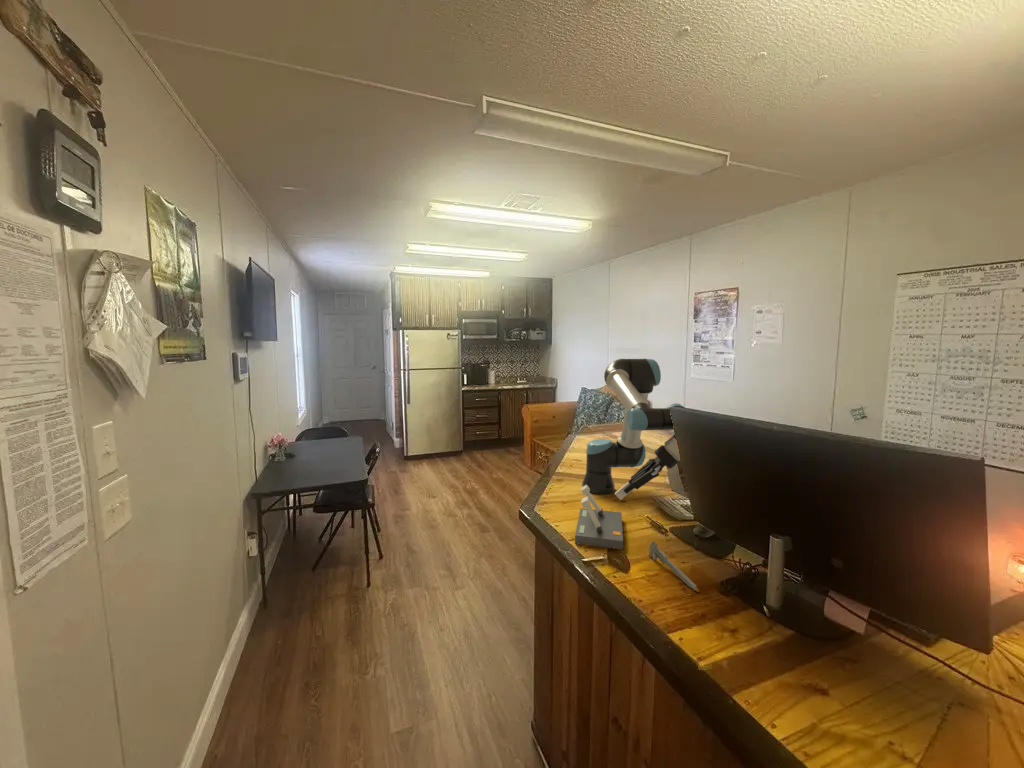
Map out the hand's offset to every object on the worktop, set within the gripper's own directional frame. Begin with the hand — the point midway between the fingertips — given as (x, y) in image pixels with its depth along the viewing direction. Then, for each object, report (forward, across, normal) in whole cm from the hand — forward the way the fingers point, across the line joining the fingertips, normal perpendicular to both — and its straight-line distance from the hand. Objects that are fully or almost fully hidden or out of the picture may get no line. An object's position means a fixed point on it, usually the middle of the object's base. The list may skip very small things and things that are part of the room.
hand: (617, 496), depth 141 cm
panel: (+16, +7, -8) cm, 19 cm away
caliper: (0, -16, -24) cm, 28 cm away
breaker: (+13, +14, -4) cm, 20 cm away
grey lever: (+13, 0, -4) cm, 14 cm away
